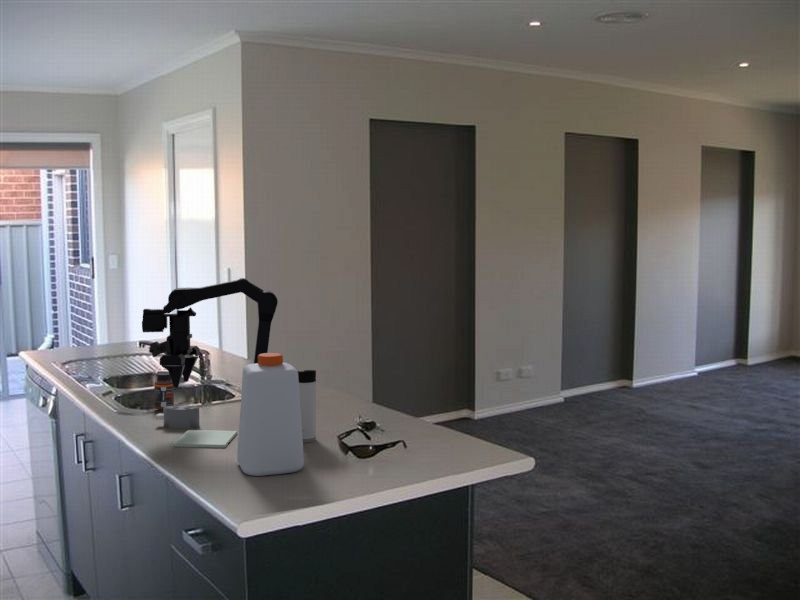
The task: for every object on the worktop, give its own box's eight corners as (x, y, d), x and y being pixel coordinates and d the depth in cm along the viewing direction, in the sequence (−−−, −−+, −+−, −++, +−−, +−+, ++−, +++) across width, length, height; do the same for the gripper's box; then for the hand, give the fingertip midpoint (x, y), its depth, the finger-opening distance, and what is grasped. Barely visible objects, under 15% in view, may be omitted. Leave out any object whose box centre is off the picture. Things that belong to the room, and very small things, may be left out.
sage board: (237, 433, 222) (237, 430, 222) (224, 447, 208) (224, 444, 208) (188, 432, 222) (188, 429, 222) (172, 446, 208) (172, 443, 208)
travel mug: (298, 444, 212) (298, 371, 210) (289, 438, 218) (290, 367, 216) (319, 441, 215) (320, 370, 213) (310, 435, 221) (311, 366, 219)
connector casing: (201, 424, 231) (201, 406, 231) (197, 428, 227) (196, 409, 226) (159, 423, 231) (159, 405, 231) (154, 427, 227) (154, 409, 227)
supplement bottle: (168, 411, 247) (167, 375, 246) (150, 409, 248) (150, 374, 247) (177, 406, 253) (176, 372, 251) (160, 405, 254) (159, 371, 253)
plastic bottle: (307, 472, 188) (308, 358, 185) (244, 479, 183) (244, 361, 180) (293, 455, 202) (293, 348, 200) (234, 460, 197) (234, 351, 194)
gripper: (163, 327, 236) (164, 377, 238) (140, 336, 218) (142, 390, 219) (199, 327, 236) (200, 378, 238) (180, 336, 217) (181, 391, 219)
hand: (181, 384), depth 228 cm, fingers open, 9 cm apart
